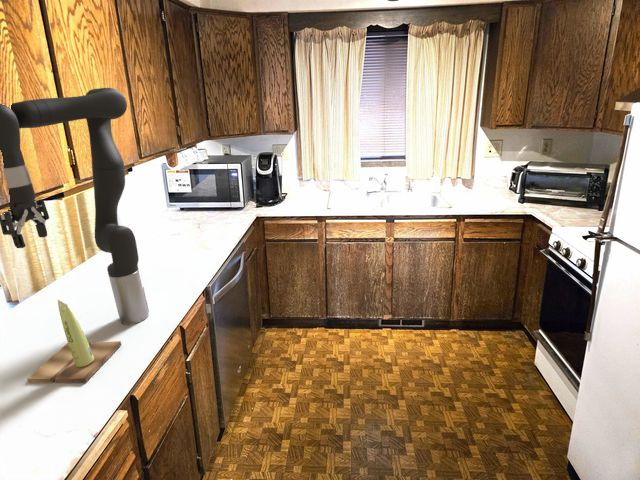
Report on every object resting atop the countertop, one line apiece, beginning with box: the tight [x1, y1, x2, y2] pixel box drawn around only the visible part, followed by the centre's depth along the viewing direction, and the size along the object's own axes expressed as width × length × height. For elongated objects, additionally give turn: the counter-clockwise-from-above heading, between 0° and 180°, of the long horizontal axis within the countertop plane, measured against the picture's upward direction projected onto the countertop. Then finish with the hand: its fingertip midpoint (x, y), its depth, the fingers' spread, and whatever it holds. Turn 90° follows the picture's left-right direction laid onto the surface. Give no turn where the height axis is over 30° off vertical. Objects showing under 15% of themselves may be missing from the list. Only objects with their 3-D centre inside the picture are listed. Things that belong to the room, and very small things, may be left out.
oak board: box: [26, 341, 92, 384], centre depth 129 cm, size 18×8×1 cm, turn 174°
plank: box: [54, 340, 122, 384], centre depth 128 cm, size 18×9×1 cm, turn 174°
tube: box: [57, 298, 94, 367], centre depth 123 cm, size 6×5×20 cm
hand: (32, 242), depth 121 cm, fingers open, 8 cm apart
